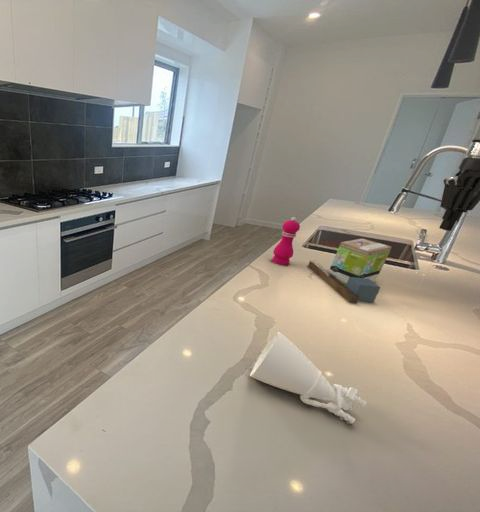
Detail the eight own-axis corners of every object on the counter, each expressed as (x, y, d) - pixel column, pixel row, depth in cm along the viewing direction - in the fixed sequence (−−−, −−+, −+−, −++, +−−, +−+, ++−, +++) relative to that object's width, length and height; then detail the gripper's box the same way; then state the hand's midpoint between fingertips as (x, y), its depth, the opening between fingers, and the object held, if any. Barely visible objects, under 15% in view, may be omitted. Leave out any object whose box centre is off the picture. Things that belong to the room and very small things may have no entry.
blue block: (373, 302, 99) (380, 287, 96) (353, 300, 100) (360, 284, 97) (361, 293, 104) (368, 278, 102) (342, 291, 105) (349, 276, 103)
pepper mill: (271, 257, 132) (284, 213, 125) (290, 261, 129) (305, 216, 121) (269, 262, 127) (282, 217, 119) (289, 267, 123) (304, 220, 115)
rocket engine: (390, 385, 53) (284, 325, 61) (362, 443, 50) (255, 372, 59) (358, 389, 62) (271, 338, 71) (333, 438, 60) (246, 378, 69)
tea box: (355, 289, 107) (371, 251, 102) (325, 277, 116) (339, 241, 110) (376, 281, 113) (393, 245, 108) (346, 271, 122) (360, 237, 116)
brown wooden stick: (356, 303, 98) (359, 297, 97) (350, 302, 98) (353, 296, 97) (313, 266, 125) (315, 260, 124) (308, 265, 125) (309, 260, 124)
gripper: (494, 157, 96) (457, 228, 105) (447, 155, 98) (414, 224, 107) (520, 159, 89) (477, 234, 98) (469, 157, 91) (432, 230, 100)
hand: (444, 229), depth 102 cm, fingers closed
